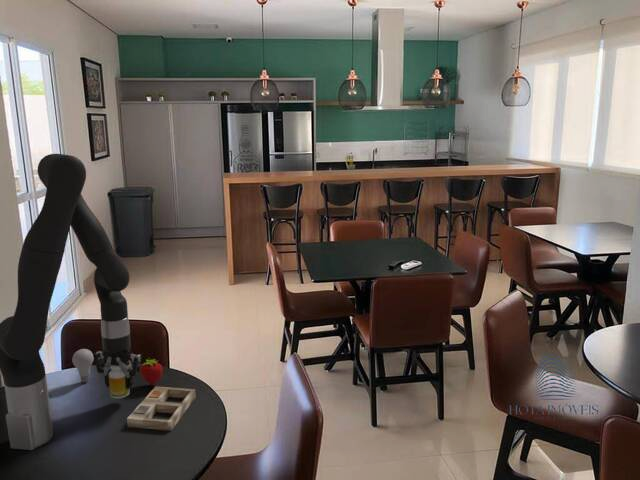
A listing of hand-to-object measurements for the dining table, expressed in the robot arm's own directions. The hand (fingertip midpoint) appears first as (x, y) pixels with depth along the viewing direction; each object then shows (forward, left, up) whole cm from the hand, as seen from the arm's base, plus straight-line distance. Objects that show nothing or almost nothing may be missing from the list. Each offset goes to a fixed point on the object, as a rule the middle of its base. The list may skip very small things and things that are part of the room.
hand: (119, 386), depth 151 cm
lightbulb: (+10, +18, -6) cm, 21 cm away
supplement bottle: (0, 0, -3) cm, 3 cm away
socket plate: (-2, -14, -5) cm, 15 cm away
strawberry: (+11, -4, -6) cm, 13 cm away
